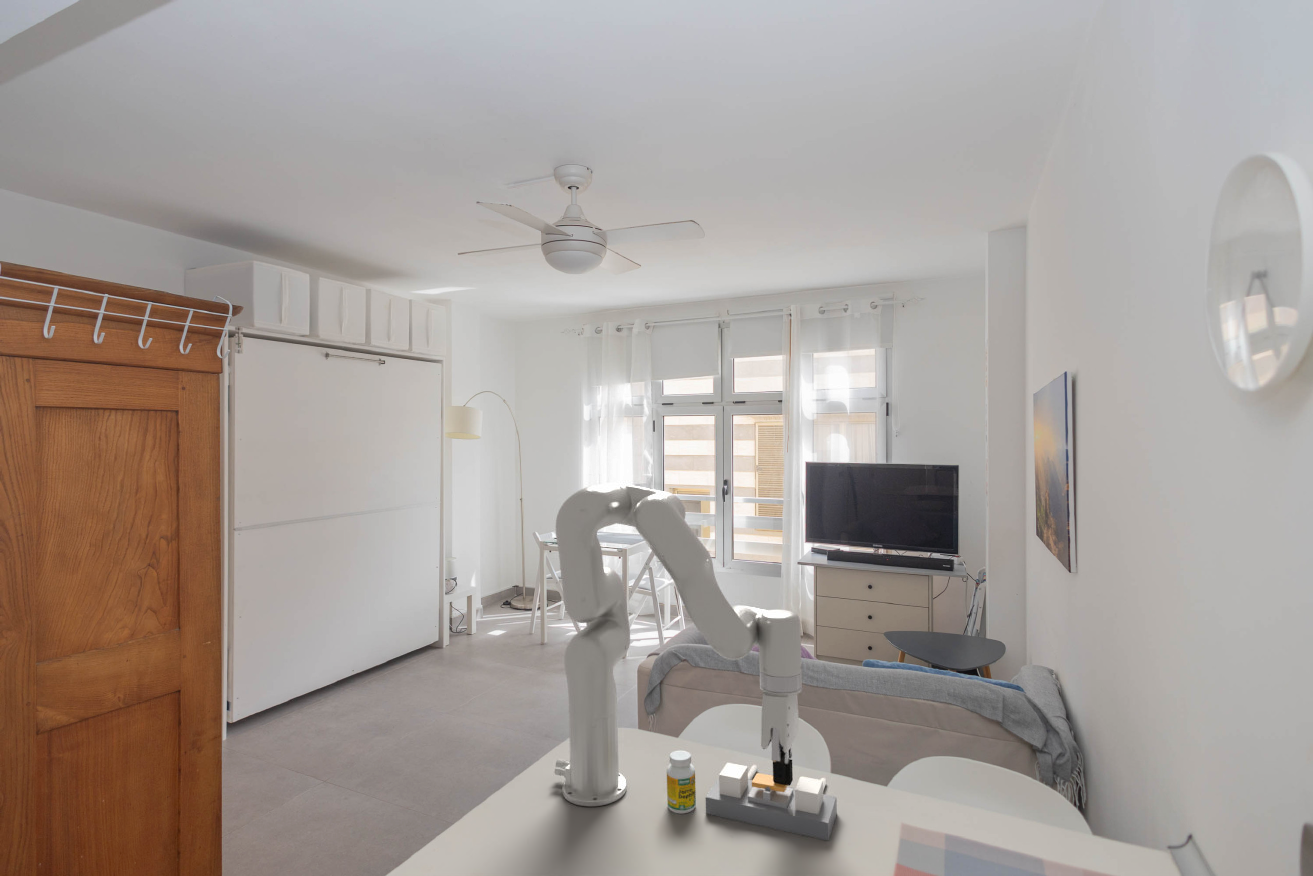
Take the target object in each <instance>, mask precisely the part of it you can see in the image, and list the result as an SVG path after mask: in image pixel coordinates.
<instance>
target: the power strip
mask: <svg viewBox="0 0 1313 876" xmlns="http://www.w3.org/2000/svg"><path fill="white" fill-rule="evenodd" d="M748 770H749V771H748ZM757 771H758V766H757V765H756V764H753V765H751V767H750V769H749V768H748V765H742V764H737V763H732V762H727V763H726V764H725V765H724V767H723V768H722V770H721V771H720V773H719V774H718V778H717V780H716V781H715V782H714V784H713V785H712V787H710V788H711V789H709V791H708V793H707V794H706V795H705V814H708V815H710V814H711V816H715V815H716V816H715V817H720V818H723V819H730V820H733V821H739V822H742V823H745V824H746V823H747V824H752V825H756V826H760V827H765V828H769V829H773V830H778V831H783V832H787V833H792V834H795V835H801V836H805V837H810V838H814V839H819V840H823V841H827V842H829V840H830V838H831V834H832V830H833V827H834V825H835V820H836V819H837V818H836V817H837V814H838V809H837V805H838V804H837V796H835V795H830V794H825V793H824V790H825V787H826V785H827V778H826V777H821V778H820V779H817V778H811V777H807V776H800V777H799V779H798V780H797V784H796V785H795V788H793V787H789V786H787V788H786V790H785V792H779V791H774V790H771V791H766V790H765V789H762V788H757V787H752V781H753V779H754V778H753V777H755V775H756V774H757V773H756V772H757Z"/></svg>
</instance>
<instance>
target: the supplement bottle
mask: <svg viewBox="0 0 1313 876" xmlns="http://www.w3.org/2000/svg"><path fill="white" fill-rule="evenodd" d="M669 763H670V764H669V765H667V768H666V793H667V800H666V801H667V808H668V809H669V810H670V811H671V812H673V813H676V814H681V815H682V814H688V813H690V812H693V811H694V810H695V808H696V804H697V803H696V801H697V797H696V794H697V791H696V769H695V766H694V764H692V755H691V752H688V751H686V750H674V751H672V752H671V753H670V754H669Z"/></svg>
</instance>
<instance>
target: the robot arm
mask: <svg viewBox="0 0 1313 876" xmlns="http://www.w3.org/2000/svg"><path fill="white" fill-rule="evenodd" d="M616 524H617V525H623V526H629V527H633V528H635V529H636V531H637V532H638V534H639V535H640V536H641V538H642V539H643V540H644V542H645V543H646V545H647V546H648V548H649V549H651V551H652V552H653V554H654V556H656V558H657V559H658V561H659V562H660V563H661V565H662V566H663V567H664V569H665V571H666V572H667V574H669V576H670V577H671V579H672V580H673V582H674V584H675V587H676V590H677V593H678V594H679V597H680V599H681V601H682V605H683V606H684V608H685V611H686V612H687V614H688V616H689V618H690V619H691V621H692V622H693V625H694V626H695V627H696V629H698V631H699V633H700V634H701V635H702V637H703V639H704V640H705V641H706V643H707V644H708V645H709V646H710V647H711V649H712V650H713V651H714V652H715V653H717V654H718V655H719V656H720V657H722V658H723V659H726V660H729V661H738V660H742V659H743V658H745V657H746V656H748V654H749V653H750V652H751V650H752V649H753V647H754V646H757V647H758V650H759V651H758V654H759V655H758V660H759V662H758V663H759V665H758V666H759V689H760V690H761V692H763V693H762V701H761V722H760V747H761V748H762V750H766V749H768V748H769V745H770V744H771V761H772V776H773V782H774V783H778V784H783V785H788V786H787V787H789V786H791V784H792V782H793V775H794V774H793V759H792V758H793V744H794V742H795V740H796V738H797V735H798V733H799V732H798V731H799V703H798V702H799V701H798V700H799V699H798V694H801V692H802V691H803V681H802V680H803V679H802V678H803V677H802V674H803V673H802V639H801V635H802V634H801V633H802V632H801V631H802V630H801V619H800V617H799V615H798V614H797V613H796V612H794V611H792V610H787V609H761V608H758V607H753V606H749V605H742V604H738V605H733V606H732V605H731V604H730V602H729V601H728V600H727V598H726V596H725V595H724V594H723V592H722V590H721V589H720V586H719V583H718V581H717V578H716V576H715V570H714V564H713V559H712V557H711V554H710V552H709V550H708V549H707V548H706V546H705V545H704V544H703V543H702V541H701V540H700V539H699V537H698V536H697V535H696V533H695V531H694V530H692V528H691V527H690V525H689V524H688V522H687V521H686V508H685V504H684V503H683V502H682V499H680V497H678V496H677V495H676V494H673V493H671V492H668V491H664V490H658V489H650V488H646V487H641V486H636V485H631V484H625V483H621V482H607V483H600V484H594V485H589V486H587V487H584V488H582V489H579V490H578V491H576V492H574V493H573V494H572V495H570V496H569V497H568V498H567V499H565V501H564V502H563V503H562V505H561V506H560V508H559V509H558V513H557V515H556V519H555V536H556V543H557V550H558V557H559V569H560V577H561V586H562V596H563V604H564V605H563V606H564V607H565V611H566V613H567V615H568V617H569V618H570V619H571V620H573V621H574V622H577V623H579V624H586V627H584V628H583V629H582V630H580V631H578V632H577V633H576V634H575V635H574V636H573V637H572V638H571V639H570V640H569V642H568V644H567V645H566V647H565V651H564V655H563V665H564V671H565V676H566V677H565V678H566V683H567V693H568V713H569V714H568V715H569V716H568V719H569V720H568V721H569V725H568V726H569V729H568V730H569V731H568V732H569V760H566V759H563V758H558V759H557V760H556V761H555V768H554V775H557V776H560V777H561V776H563V777H564V778H565V780H564V781H563V784H562V789H561V791H562V795H563V797H564V798H565V800H566V801H568V802H569V803H571V804H574V805H577V806H581V807H602V806H605V805H609V804H612V803H613V802H616V801H618V800H620V799H621V798H622V797H623V796H624V795H625V793H626V792H627V788H628V786H627V785H628V782H627V779H626V778H625V776H624V775H623V774H622V773H620V771H619V723H618V722H619V720H618V713H619V712H618V694H617V687H616V681H615V679H614V667H615V666H616V665H617V664H618V663H619V662H620V661H621V660H622V659H623V658H624V657H625V656H626V654H627V653H628V650H629V648H630V644H631V631H630V621H629V613H628V606H627V597H626V596H627V595H626V590H625V585H624V583H623V580H622V579H621V577H620V575H619V574H618V573H617V572H616V570H614V569H612V568H611V567H608V566H605V565H604V561H603V552H602V546H601V544H600V540H599V539H598V531H599V530H601V529H604V528H606V527H609V526H612V525H616Z"/></svg>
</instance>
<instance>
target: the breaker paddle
mask: <svg viewBox="0 0 1313 876" xmlns="http://www.w3.org/2000/svg"><path fill="white" fill-rule="evenodd" d="M753 777H754V778H752V780H753V781H752V787H757V788H762V789H765V790H766V791H771V790H774V791H779V792H785V790H786V788H787V787H789V786H788V785H783V784H778V783H774V782H773V774H772V775H771V774H766V773H759V772H757V773H755V775H754V776H753Z"/></svg>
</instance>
